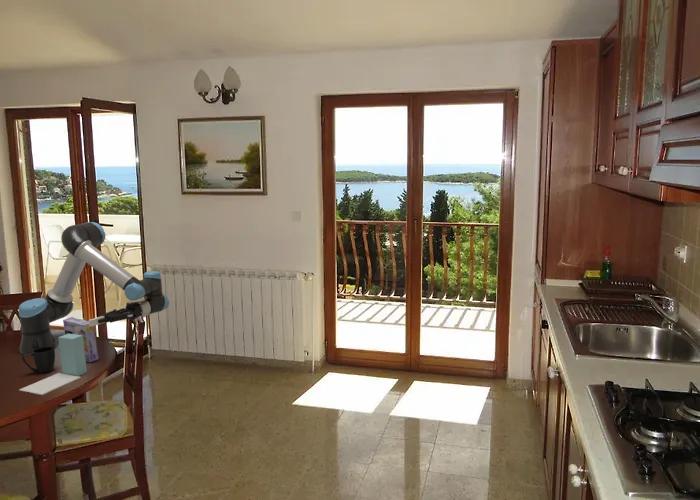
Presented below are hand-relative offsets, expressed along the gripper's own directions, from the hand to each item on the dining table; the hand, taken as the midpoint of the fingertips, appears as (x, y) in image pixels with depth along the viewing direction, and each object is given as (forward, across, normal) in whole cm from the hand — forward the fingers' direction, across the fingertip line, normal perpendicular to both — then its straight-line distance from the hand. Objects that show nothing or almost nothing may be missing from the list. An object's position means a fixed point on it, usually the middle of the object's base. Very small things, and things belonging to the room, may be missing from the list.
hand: (89, 323), depth 233 cm
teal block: (+9, +1, -19) cm, 21 cm away
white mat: (+20, -2, -19) cm, 28 cm away
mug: (+15, +15, -19) cm, 29 cm away
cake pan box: (-3, +15, -19) cm, 25 cm away
